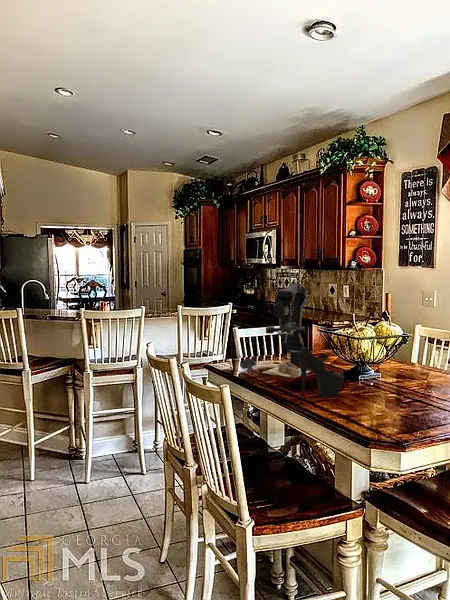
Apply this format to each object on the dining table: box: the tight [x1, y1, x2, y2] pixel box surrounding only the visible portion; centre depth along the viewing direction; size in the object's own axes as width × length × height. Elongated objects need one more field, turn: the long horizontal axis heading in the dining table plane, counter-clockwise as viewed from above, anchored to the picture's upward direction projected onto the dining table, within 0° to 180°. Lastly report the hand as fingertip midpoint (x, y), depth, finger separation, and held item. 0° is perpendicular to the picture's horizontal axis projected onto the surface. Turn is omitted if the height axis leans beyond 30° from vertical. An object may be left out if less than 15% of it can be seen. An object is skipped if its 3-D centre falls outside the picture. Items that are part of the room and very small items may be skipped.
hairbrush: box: [240, 358, 258, 372], centre depth 252 cm, size 8×4×25 cm
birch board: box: [261, 366, 312, 379], centre depth 240 cm, size 16×18×1 cm
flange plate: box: [277, 363, 299, 378], centre depth 236 cm, size 14×7×3 cm, turn 13°
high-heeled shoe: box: [297, 346, 345, 398], centre depth 203 cm, size 8×19×20 cm, turn 94°
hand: (285, 347), depth 244 cm, fingers closed
